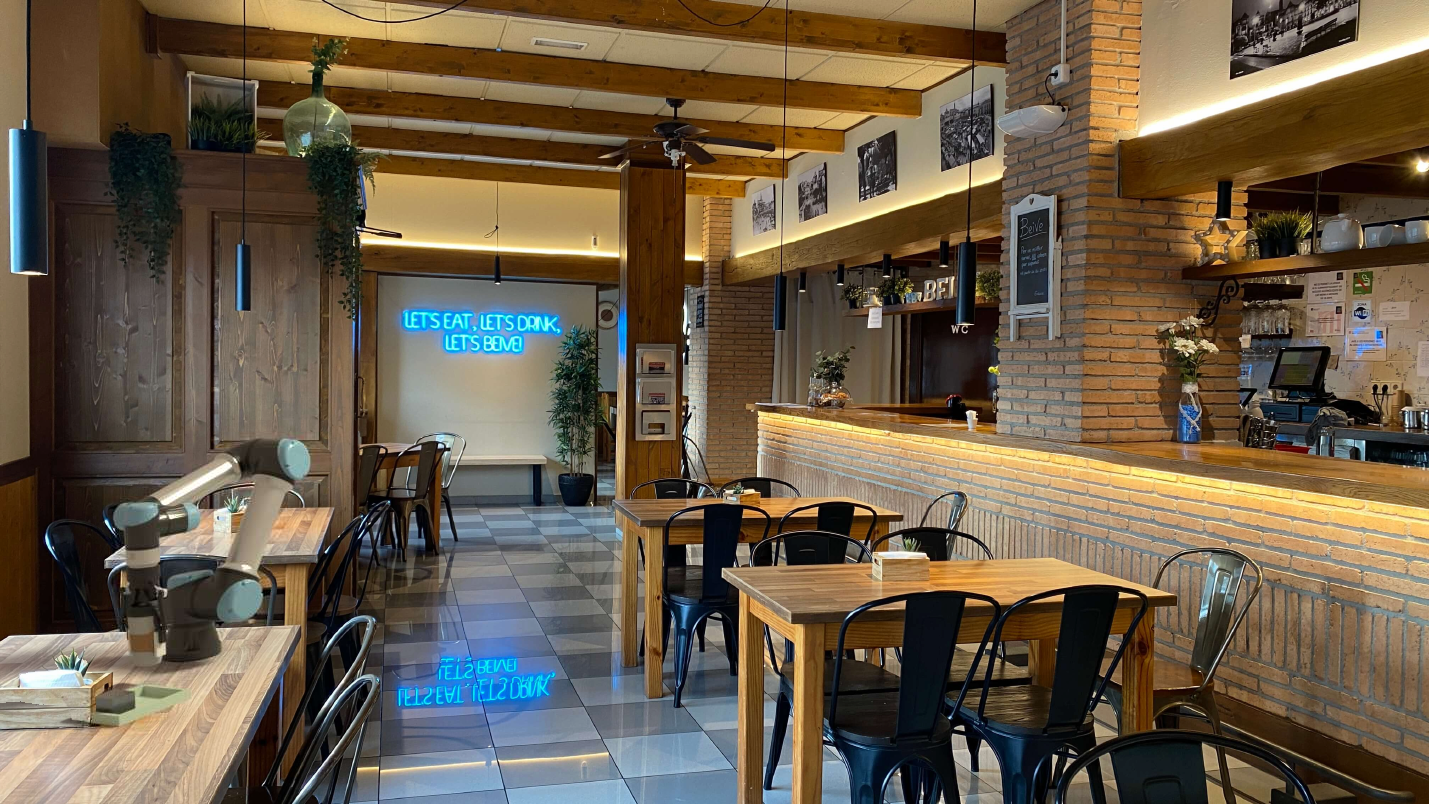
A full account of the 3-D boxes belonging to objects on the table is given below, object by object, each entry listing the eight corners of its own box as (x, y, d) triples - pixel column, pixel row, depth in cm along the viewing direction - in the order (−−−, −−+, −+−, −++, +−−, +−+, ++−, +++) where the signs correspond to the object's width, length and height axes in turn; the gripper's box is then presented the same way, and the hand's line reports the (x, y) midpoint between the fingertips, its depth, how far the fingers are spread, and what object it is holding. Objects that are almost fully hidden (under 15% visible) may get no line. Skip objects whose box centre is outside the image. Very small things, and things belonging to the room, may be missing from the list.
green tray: (144, 696, 248) (144, 684, 248) (190, 701, 244) (190, 689, 244) (70, 723, 229) (70, 710, 229) (119, 729, 225) (119, 716, 225)
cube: (115, 710, 235) (114, 689, 235) (135, 712, 233) (135, 691, 233) (92, 718, 230) (91, 697, 229) (113, 721, 228) (112, 699, 228)
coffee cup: (149, 669, 251) (147, 609, 250) (120, 667, 253) (117, 608, 252) (174, 658, 259) (171, 600, 258) (145, 657, 261) (143, 599, 260)
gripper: (98, 565, 254) (103, 655, 255) (163, 570, 248) (167, 662, 249) (124, 559, 261) (128, 646, 262) (187, 563, 255) (191, 653, 256)
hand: (147, 654), depth 256 cm, fingers closed on coffee cup, 7 cm apart
